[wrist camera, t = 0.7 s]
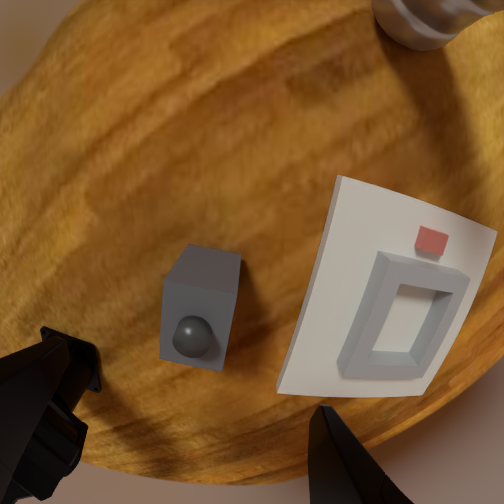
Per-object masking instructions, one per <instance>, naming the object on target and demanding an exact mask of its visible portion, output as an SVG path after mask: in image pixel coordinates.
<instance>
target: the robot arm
mask: <svg viewBox="0 0 504 504" xmlns="http://www.w3.org/2000/svg"><path fill="white" fill-rule="evenodd" d="M40 332H41V337H42V342H40V343H37V344H35V345H32V346H30V347H27V348H25V349H22V350H20V351H17V352H15V353H12V354H10V355H7V356H5V357H2V358H0V504H15V503H16V502H17V500H19V499H23V498H28V497H32V496H34V497H36V498H37V499H38V500H40V501H43V500H45V499H47V498H49V497H51V496H52V494H53V492H54V490H55V488H56V487H57V485H58V483H59V482H60V480H61V479H62V478H63V477H66V476H68V475H69V474H70V473H71V472H72V471H73V470H74V469H75V468H76V466H77V464H78V463H79V461H80V458H81V455H82V450H83V446H84V442H85V438H86V434H87V430H88V425H87V424H85V423H84V422H82V421H81V420H80V419H78V418H77V417H76V416H75V415H74V414H73V413H72V412H73V411H74V409H75V407H76V406H77V404H78V402H79V400H80V399H81V397H82V395H83V394H84V392H85V390H86V389H88V390H91V391H94V392H97V393H99V392H100V391H101V383H100V378H99V372H98V366H97V359H96V352H95V347H94V345H93V344H91V343H89V342H86V341H83V340H80V339H77V338H74V337H71V336H69V335H66V334H63V333H61V332H58V331H55V330H53V329H50V328H48V327H45V326H43V327H42V328H41V329H40ZM308 475H309V489H310V490H309V491H310V504H414V503H413V502H412V501H411V500H409V499H408V498H407V497H406V496H405V495H404V494H403V493H402V492H401V491H400V490H399V489H398V487H397V486H396V485H395V484H394V483H393V482H392V481H391V480H390V478H389V477H388V476H387V475H385V472H384V471H383V470H382V469H381V467H380V466H379V465H378V464H377V462H376V461H375V460H374V459H373V457H372V456H371V455H370V454H369V453H368V451H367V450H366V449H365V448H364V446H363V445H362V444H361V443H360V441H359V440H358V439H357V438H356V436H355V435H354V434H353V433H352V431H351V430H350V429H349V428H348V426H347V425H346V424H345V422H344V421H343V420H342V419H341V417H340V416H339V415H338V414H337V412H336V411H335V410H334V408H333V407H332V406H330V405H319V406H318V408H317V409H316V411H315V412H314V414H313V416H312V417H311V419H310V424H309V444H308Z"/></svg>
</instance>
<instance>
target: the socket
mask: <svg viewBox="0 0 504 504" xmlns="http://www.w3.org/2000/svg"><path fill="white" fill-rule="evenodd" d="M496 235H497V231H495V230H493V229H491V228H488V227H486V226H484V225H482V224H479V223H477V222H475V221H472V220H470V219H467V218H465V217H463V216H460V215H458V214H455V213H453V212H450V211H447V210H445V209H442V208H440V207H437V206H434V205H431V204H429V203H426V202H423V201H420V200H418V199H415V198H412V197H409V196H406V195H403V194H400V193H397V192H394V191H391V190H388V189H385V188H381V187H378V186H375V185H372V184H368V183H365V182H362V181H358V180H355V179H351V178H348V177H344V176H340V175H337V179H336V183H335V187H334V191H333V196H332V200H331V204H330V208H329V212H328V216H327V220H326V224H325V228H324V231H323V235H322V239H321V243H320V246H319V250H318V254H317V257H316V261H315V264H314V268H313V271H312V275H311V278H310V282H309V285H308V289H307V292H306V295H305V299H304V302H303V305H302V308H301V311H300V315H299V318H298V321H297V324H296V327H295V330H294V333H293V336H292V340H291V343H290V346H289V349H288V351H287V354H286V357H285V360H284V363H283V366H282V369H281V372H280V375H279V377H278V380H277V383H276V387H277V393H281V394H292V395H305V396H322V397H401V396H417V395H422V394H423V393H424V391H425V390H426V388H427V387H428V385H429V384H430V382H431V381H432V379H433V377H434V376H435V374H436V372H437V371H438V369H439V367H440V366H441V364H442V362H443V361H444V359H445V357H446V355H447V353H448V352H449V350H450V348H451V346H452V344H453V342H454V340H455V339H456V337H457V335H458V333H459V331H460V329H461V327H462V324H463V322H464V320H465V318H466V316H467V314H468V312H469V309H470V307H471V305H472V303H473V300H474V298H475V295H476V293H477V291H478V288H479V286H480V283H481V280H482V278H483V275H484V272H485V270H486V267H487V264H488V261H489V258H490V255H491V252H492V249H493V246H494V242H495V239H496Z"/></svg>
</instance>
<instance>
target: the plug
mask: <svg viewBox="0 0 504 504" xmlns="http://www.w3.org/2000/svg"><path fill="white" fill-rule="evenodd" d="M240 263H241V254H237V253H232V252H227V251H221V250H216V249H211V248H206V247H200V246H195V245H190V244H188V246H187V247H186V249H185V250H184V252H183V253H182V254H181V256H180V257H179V259H178V260H177V262H176V263H175V265H174V266H173V268H172V269H171V271H170V272H169V273H168V275H167V276H166V278H165V279H164V286H163V299H162V315H161V334H160V359H163V360H167V361H171V362H176V363H180V364H185V365H190V366H195V367H200V368H205V369H210V370H216V371H221V372H222V369H223V364H224V359H225V354H226V349H227V344H228V339H229V334H230V329H231V324H232V319H233V314H234V309H235V304H236V299H237V294H238V284H239V274H240Z"/></svg>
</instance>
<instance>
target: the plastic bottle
mask: <svg viewBox="0 0 504 504" xmlns="http://www.w3.org/2000/svg"><path fill="white" fill-rule="evenodd" d="M371 5H372V10H373V13H374V15H375V18H376V20H377V22H378V24H379V25H380V27H381V28H382V29H383V31H384V32H385V33H386V34H387V35H388V36H389V37H391V38H392V39H393V40H394V41H396V42H397V43H399V44H401V45H403V46H405V47H408V48H410V49H413V50H416V51H428V50H433V49H439V48H441V47H444V46H445V45H446V44H448V43H449V42H450V41H452V40H453V39H454V38H455V37H456V36H457V35H458V34H459V33H460V32H461V31H462V30H464V29H465V28H467V27H468V26H470V25H472V24H473V23H475V22H476V21H478V20H479V19H481V18H483V17H484V16H487V15H490V14H493V13H495V12H498V11H502V10H504V0H371Z"/></svg>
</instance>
